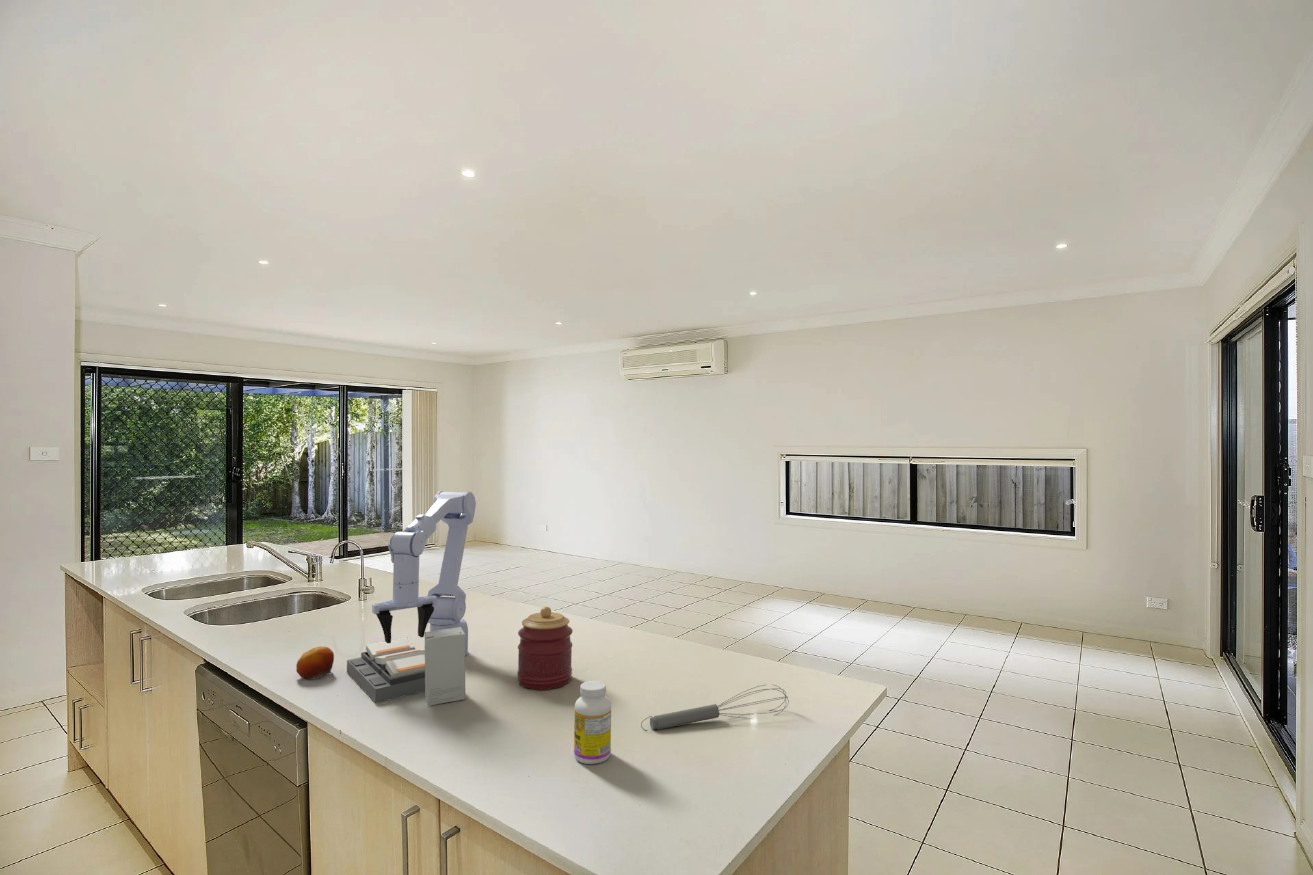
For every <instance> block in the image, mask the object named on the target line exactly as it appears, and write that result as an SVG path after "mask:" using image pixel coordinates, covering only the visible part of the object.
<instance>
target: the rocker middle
mask: <svg viewBox="0 0 1313 875" xmlns="http://www.w3.org/2000/svg"><path fill="white" fill-rule="evenodd" d="M422 654H425V649H421V648H420V649H419V648H415V650H410V651H405V652H400V653H394V654H389V655H384V656H379V657H375V663H377V664H382V665H383V664H386V662H387V661H392V660H397V659H402V658H407V657H412V656H417V655H422Z"/></svg>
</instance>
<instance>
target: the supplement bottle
mask: <svg viewBox="0 0 1313 875" xmlns="http://www.w3.org/2000/svg"><path fill="white" fill-rule="evenodd" d="M579 689H580V690H579V693H580V695H581V696H579V698H577V699H576V701H575V703H574V728H573V729H574V730H573V756H574V758H575V759H576V761H578V762H579V763H581V764H585V765H595V764H597V765H598V764H601V763H604V762H606V761H607V760H608V759H609V758H610V756H611V752H612V751H611V750H612V702H611V700H610V698H609V697H608V696H606V694H607V684H606V682H603V681H601V680H589V681H584V682H583V683H581V684H580V688H579Z"/></svg>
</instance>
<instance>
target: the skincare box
mask: <svg viewBox="0 0 1313 875" xmlns="http://www.w3.org/2000/svg"><path fill="white" fill-rule="evenodd" d="M424 650H425V691H424V697H425V701H426V704H427V706H428V707H431V706H434V705H440V704H445V703H450V702H451V703H452V702H457V701H463V700H466V655H465V633H464V631H463V630H462V628H461V627H457V628H451V629H444V630H437V631H430V630H429V631H425V633H424Z"/></svg>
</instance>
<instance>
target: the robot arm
mask: <svg viewBox="0 0 1313 875" xmlns="http://www.w3.org/2000/svg"><path fill="white" fill-rule="evenodd" d="M476 506H477V502H476V497H475V495H474V493H473V492H472V491H445V490H444V491H443V490H439V491H437V493H436V494H435V495H434V497H433V504H432V505H431V507H430V508H429V509H428V510H427V512H426V513H425V514H418V515H416V517H415V518H414V519H413V520H412V522H410V523H409V524H408V525H407V526H406V527H405V528H404V529H403V530H402V531H397V532H395V533H393V534H392V535H391V537H390V540H389V543H388V546H387V548H388V552H389V554H390V561H391V563H392V566H393V567H392V568H393V573H392V599H391V600H386V601H382V602H377V603H372V605H371V606H372V607H371V608H372V610H371V613H373V614H374V615H376V617H377V619H378V620H379V623H380V626H381V628H382V632H383V635H384V641H385V642H386V643H391V640H392V623H393V617H394V616H393V615H392V614H391V613H392V611H400V610H406V609H412V608H417V609H416V610H417V619H418V620H417V621H418V623H417V635H418V637H419V638H425V632H426V629H427V626H428V624H429V632H430V631H437V630H444V629H451V628H457V627H461V628H462V630H463V631H464V633H465V656H467V655H470V653H469V651H468V650H469V648H468V647H469V627H468V623H467V621H466V620H465V619H464V617H465V613H466V609H467V604H466V599H467V594H466V592H465V591H464V590H463V589H462V588H461V587H460V586H459V585H458V584H459V580H460V574H461V568H462V561H463V557H464V550H465V544H466V540H467V533H468V528H469V525H471V524H473V522H474V517H475V512H476ZM440 521H442V523H444V524H447V527H448V531H447V537H446V540H445V547H444V553H443V559H442V562H441V567H440V572H439V579H438V583H437V584H436V585H435V586H433V587H432V588H430V589H429V590H428V591H427V595H426V596H419V594H420V593H419V587H420V586H419V585H420V583H419V581H420V556H421V555H423V552H424V551H425V546H426V545H427V542H428V539H429V538H430V537H431V536H433V534H434V533H435V532H436V530H437V523H439V522H440Z"/></svg>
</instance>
